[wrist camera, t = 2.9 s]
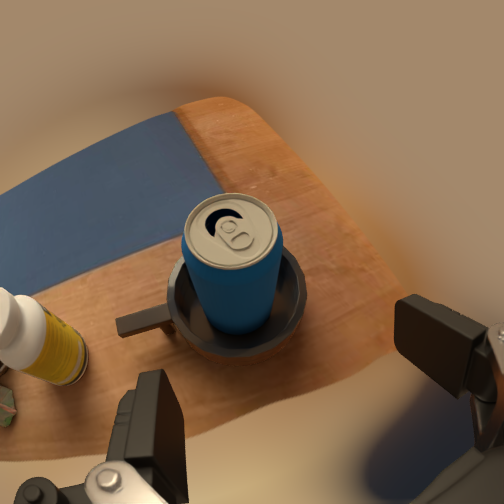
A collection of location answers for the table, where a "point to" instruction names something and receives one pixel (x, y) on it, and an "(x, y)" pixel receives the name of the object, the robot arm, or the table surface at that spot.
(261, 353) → the pan
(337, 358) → the table surface
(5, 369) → the robot arm
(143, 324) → the pan handle
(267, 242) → the beverage can
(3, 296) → the pill bottle
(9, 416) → the map
